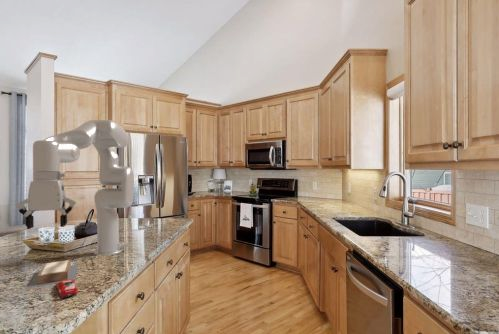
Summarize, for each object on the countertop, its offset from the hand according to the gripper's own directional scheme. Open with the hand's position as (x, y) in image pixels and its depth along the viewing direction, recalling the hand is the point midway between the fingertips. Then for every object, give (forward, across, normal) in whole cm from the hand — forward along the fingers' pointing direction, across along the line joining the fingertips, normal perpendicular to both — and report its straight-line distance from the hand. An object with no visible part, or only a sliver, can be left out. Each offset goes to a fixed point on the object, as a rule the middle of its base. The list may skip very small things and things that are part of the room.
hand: (46, 227), depth 97 cm
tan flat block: (+21, +2, -14) cm, 25 cm away
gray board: (+22, +2, -14) cm, 26 cm away
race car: (+22, -6, +2) cm, 23 cm away
